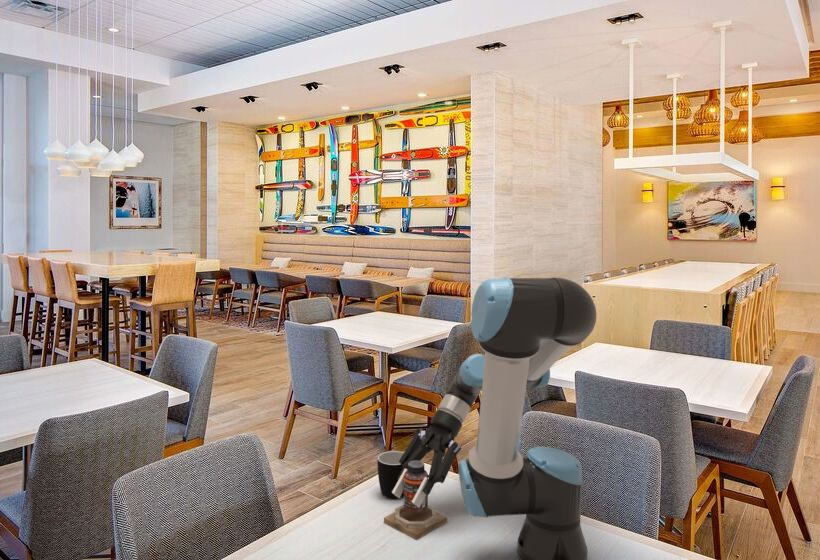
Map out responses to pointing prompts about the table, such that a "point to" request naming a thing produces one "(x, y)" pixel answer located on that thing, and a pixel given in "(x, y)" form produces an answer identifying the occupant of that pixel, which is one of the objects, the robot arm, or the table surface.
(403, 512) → the socket board
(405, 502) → the supplement bottle
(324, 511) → the table surface
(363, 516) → the table surface
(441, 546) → the table surface
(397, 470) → the mug
